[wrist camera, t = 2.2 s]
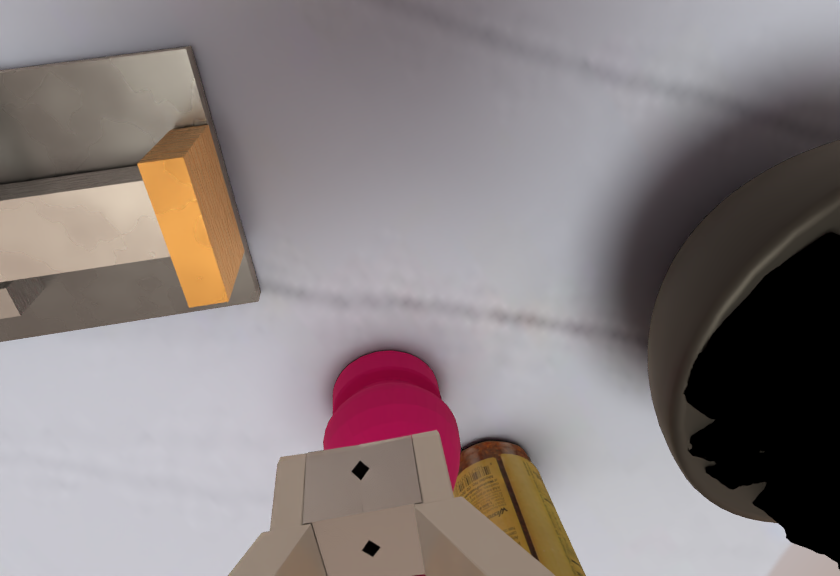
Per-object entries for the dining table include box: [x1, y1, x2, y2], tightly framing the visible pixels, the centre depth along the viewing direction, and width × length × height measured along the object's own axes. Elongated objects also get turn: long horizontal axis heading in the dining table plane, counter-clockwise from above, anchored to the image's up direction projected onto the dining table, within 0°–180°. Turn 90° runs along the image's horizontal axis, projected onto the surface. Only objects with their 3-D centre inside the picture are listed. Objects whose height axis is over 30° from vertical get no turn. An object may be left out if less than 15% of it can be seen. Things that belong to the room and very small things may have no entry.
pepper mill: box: [323, 350, 461, 576], centre depth 26 cm, size 7×7×20 cm
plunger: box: [0, 125, 245, 308], centre depth 23 cm, size 9×11×5 cm
